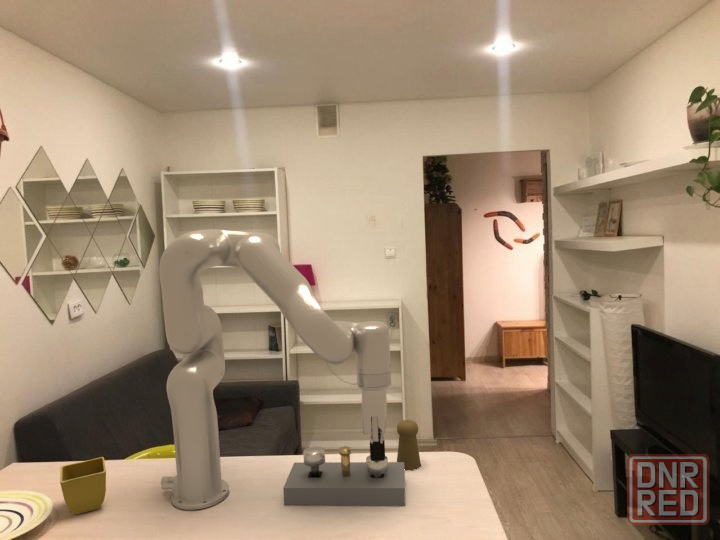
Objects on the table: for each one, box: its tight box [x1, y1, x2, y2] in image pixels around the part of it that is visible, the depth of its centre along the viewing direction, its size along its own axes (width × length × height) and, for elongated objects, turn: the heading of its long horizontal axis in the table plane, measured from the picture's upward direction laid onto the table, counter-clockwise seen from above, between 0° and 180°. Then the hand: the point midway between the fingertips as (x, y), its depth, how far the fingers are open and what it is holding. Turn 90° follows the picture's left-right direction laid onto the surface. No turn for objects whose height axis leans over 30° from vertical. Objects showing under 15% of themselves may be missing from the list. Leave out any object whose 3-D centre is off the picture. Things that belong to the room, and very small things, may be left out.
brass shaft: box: [338, 445, 352, 477], centre depth 122 cm, size 3×3×6 cm
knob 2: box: [365, 454, 389, 478], centre depth 122 cm, size 5×5×6 cm
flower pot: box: [59, 456, 107, 516], centre depth 120 cm, size 9×9×9 cm
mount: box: [283, 461, 406, 507], centre depth 123 cm, size 26×12×4 cm, turn 86°
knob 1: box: [303, 446, 326, 478], centre depth 123 cm, size 5×5×6 cm
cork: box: [396, 419, 422, 471], centre depth 134 cm, size 6×6×11 cm
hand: (377, 458), depth 122 cm, fingers closed
